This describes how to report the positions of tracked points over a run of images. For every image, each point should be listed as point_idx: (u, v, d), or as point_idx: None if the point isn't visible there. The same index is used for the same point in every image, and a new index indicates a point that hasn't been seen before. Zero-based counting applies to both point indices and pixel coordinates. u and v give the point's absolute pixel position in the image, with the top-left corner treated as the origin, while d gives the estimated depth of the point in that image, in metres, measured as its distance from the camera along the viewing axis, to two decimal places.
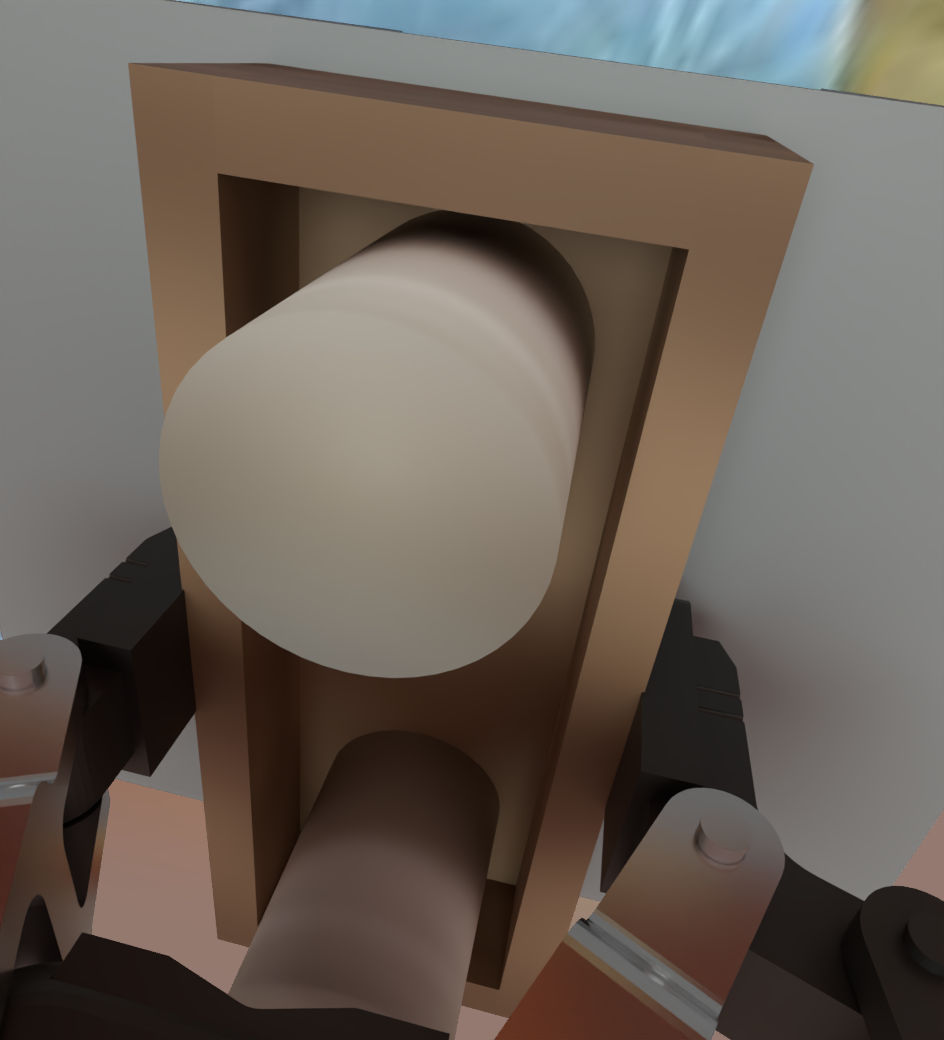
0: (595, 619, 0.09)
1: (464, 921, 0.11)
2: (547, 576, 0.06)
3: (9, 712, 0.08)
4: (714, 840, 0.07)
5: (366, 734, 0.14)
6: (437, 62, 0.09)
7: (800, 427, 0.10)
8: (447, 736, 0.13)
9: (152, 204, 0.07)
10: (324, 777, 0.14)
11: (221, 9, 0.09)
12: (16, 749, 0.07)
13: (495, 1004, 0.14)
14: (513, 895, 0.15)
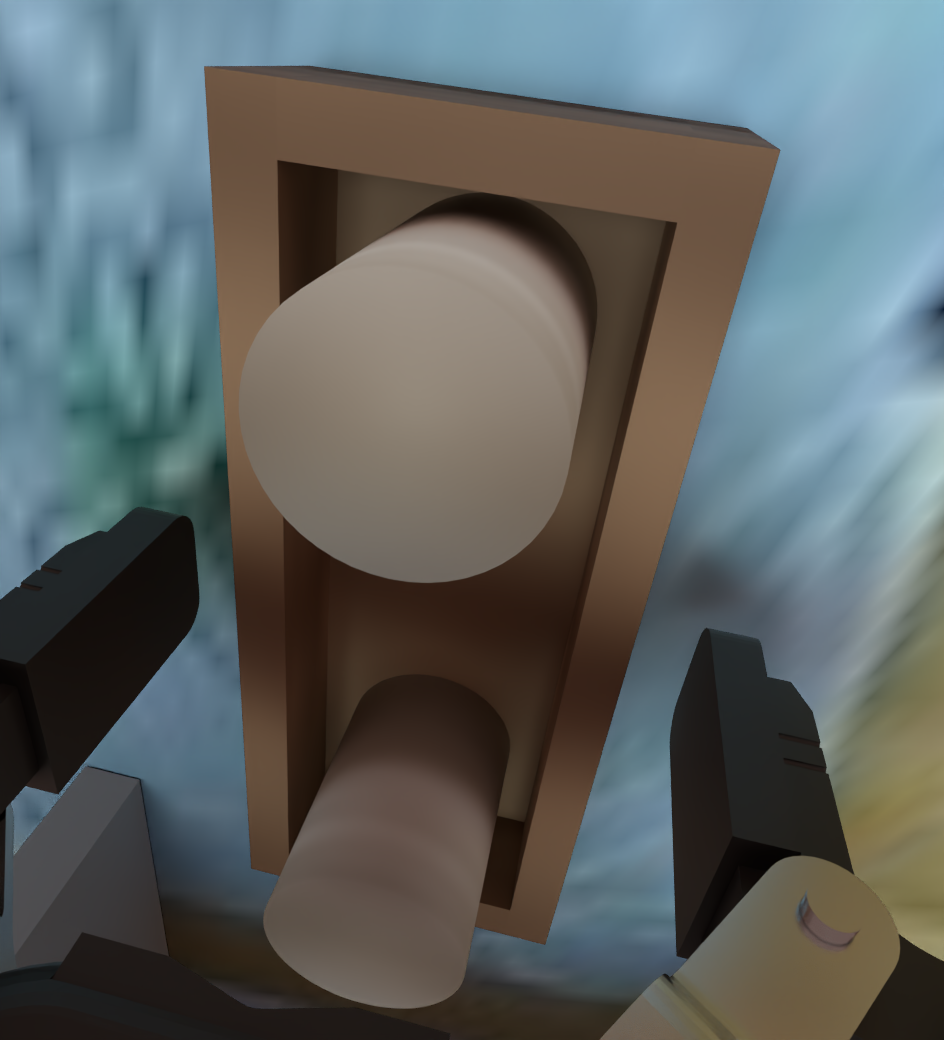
0: (598, 552, 0.10)
1: (480, 836, 0.13)
2: (560, 488, 0.07)
3: None
4: (820, 917, 0.07)
5: (388, 679, 0.15)
6: None
7: None
8: (462, 678, 0.15)
9: (220, 187, 0.09)
10: (348, 721, 0.16)
11: None
12: None
13: (506, 924, 0.15)
14: (522, 830, 0.16)
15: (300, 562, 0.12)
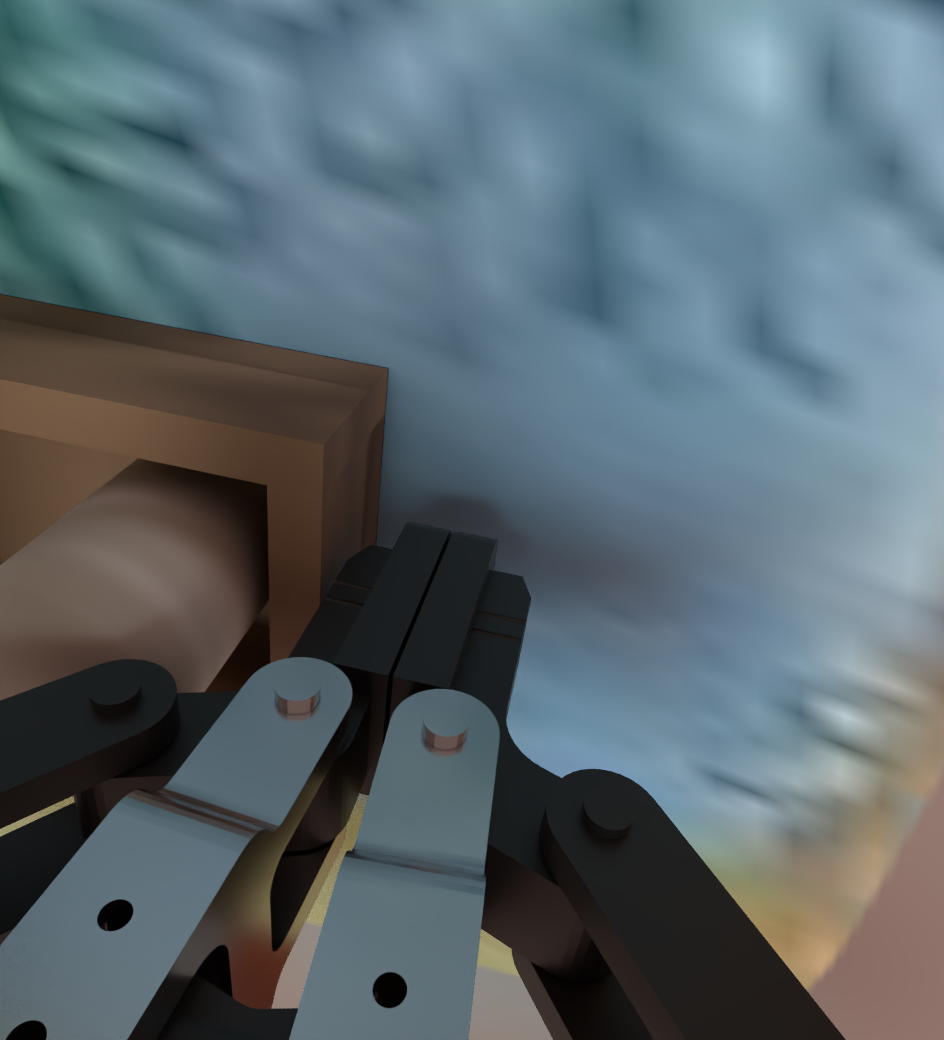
0: None
1: None
2: None
3: (272, 735, 0.08)
4: (439, 733, 0.08)
5: None
6: None
7: None
8: None
9: (239, 434, 0.10)
10: None
11: None
12: (262, 778, 0.08)
13: None
14: None
15: None
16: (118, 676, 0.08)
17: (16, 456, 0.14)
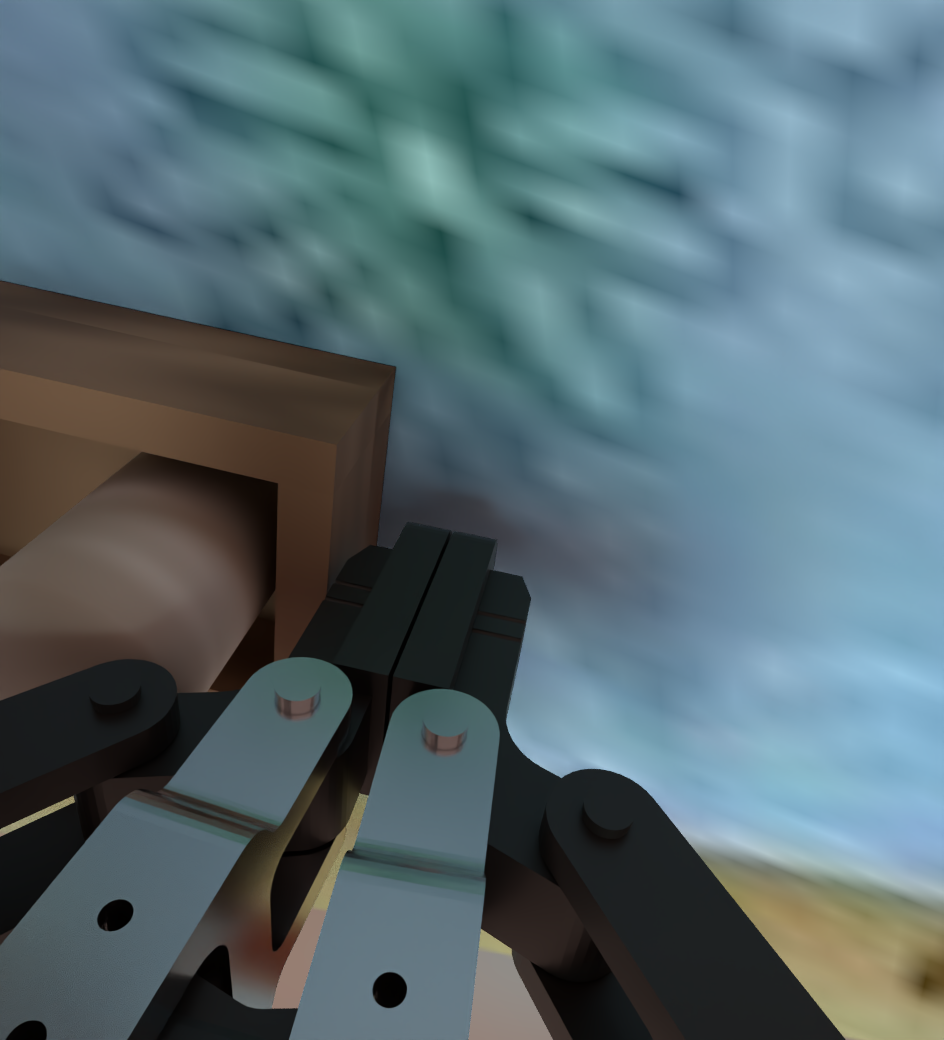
0: None
1: None
2: None
3: (272, 735, 0.08)
4: (439, 733, 0.08)
5: None
6: None
7: None
8: None
9: (251, 432, 0.10)
10: None
11: None
12: (262, 777, 0.08)
13: None
14: None
15: None
16: (118, 676, 0.08)
17: (17, 445, 0.14)
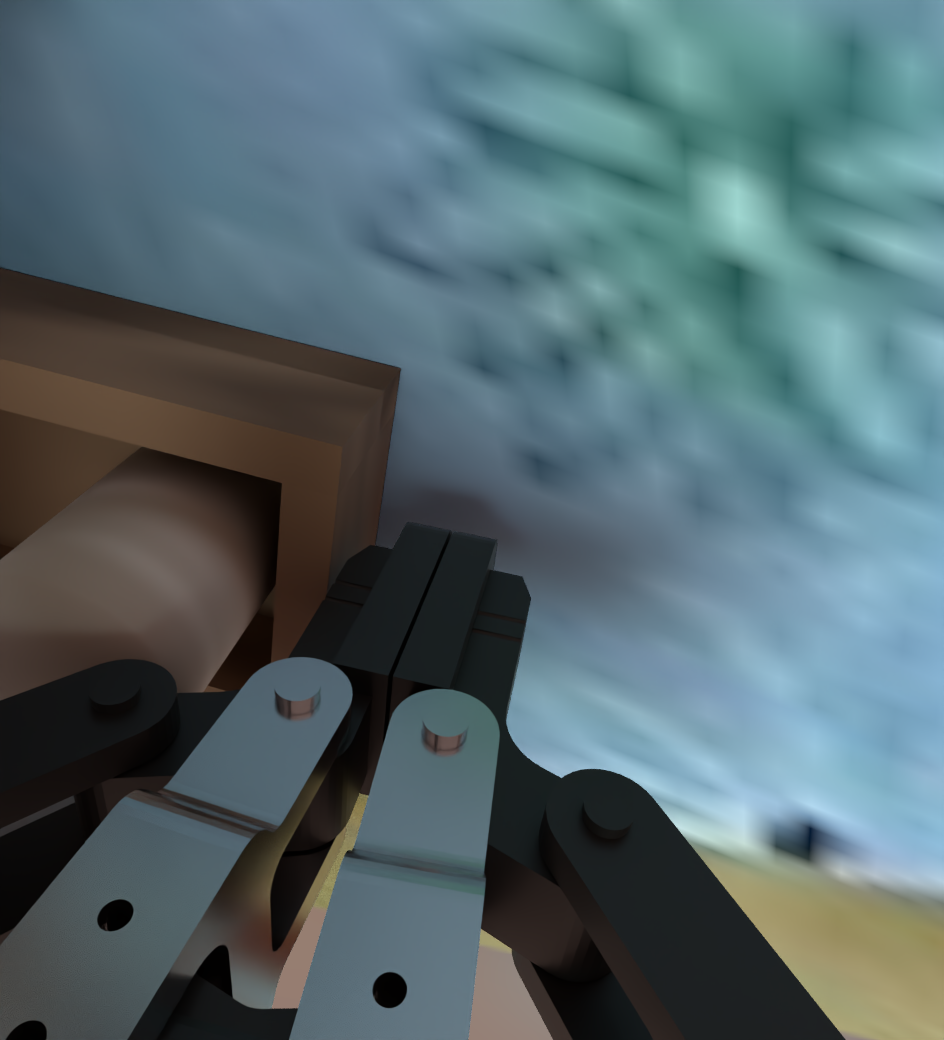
0: None
1: None
2: None
3: (272, 734, 0.08)
4: (439, 733, 0.08)
5: None
6: None
7: None
8: None
9: (257, 432, 0.10)
10: None
11: None
12: (262, 778, 0.08)
13: None
14: None
15: None
16: (119, 676, 0.08)
17: (16, 435, 0.14)
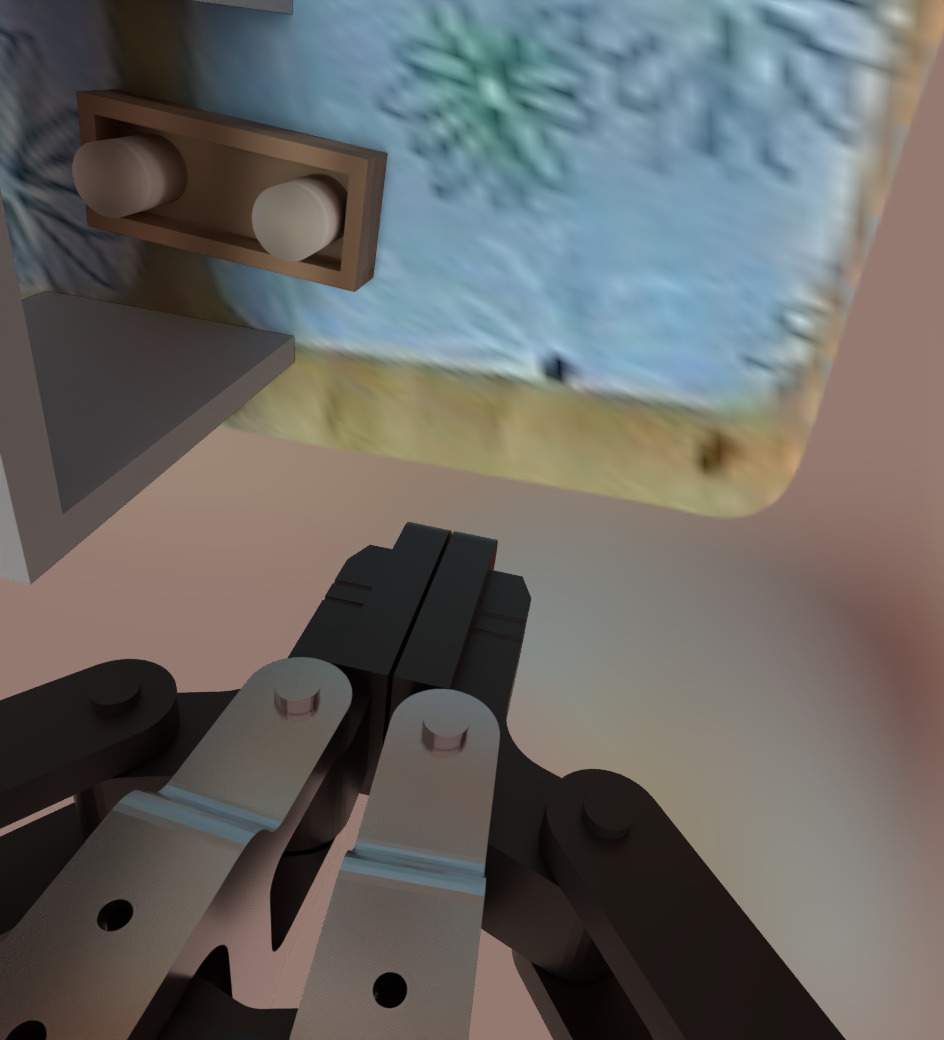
0: (258, 251, 0.38)
1: (144, 210, 0.37)
2: (280, 258, 0.35)
3: (271, 735, 0.08)
4: (440, 733, 0.08)
5: (180, 154, 0.38)
6: None
7: None
8: (189, 186, 0.39)
9: (342, 156, 0.35)
10: (153, 130, 0.38)
11: None
12: (261, 778, 0.08)
13: (92, 210, 0.38)
14: None
15: None
16: (118, 676, 0.08)
17: (249, 182, 0.38)
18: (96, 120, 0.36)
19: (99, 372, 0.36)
